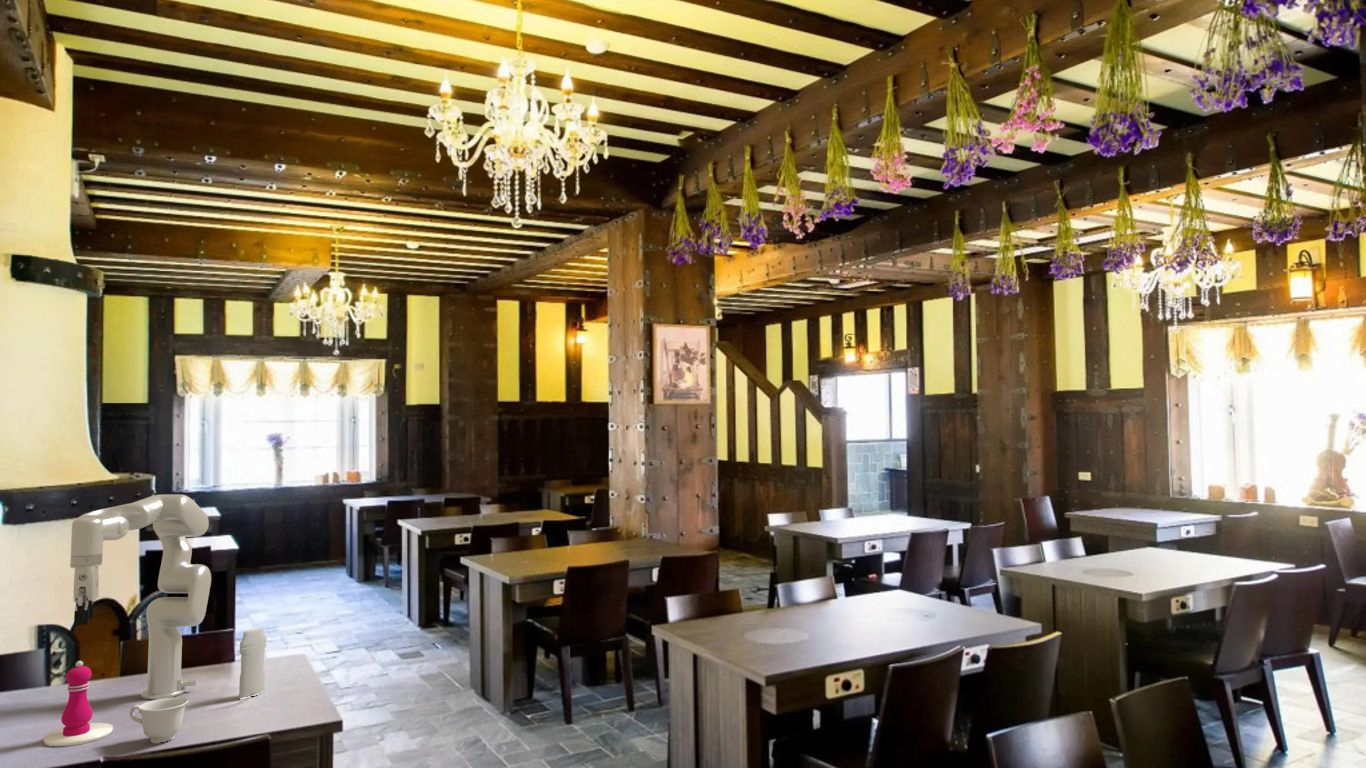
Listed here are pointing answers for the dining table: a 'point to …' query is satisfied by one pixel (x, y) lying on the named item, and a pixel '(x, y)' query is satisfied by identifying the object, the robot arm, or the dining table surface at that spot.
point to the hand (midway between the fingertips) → (83, 621)
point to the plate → (94, 734)
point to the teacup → (161, 717)
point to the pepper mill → (77, 702)
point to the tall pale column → (252, 662)
